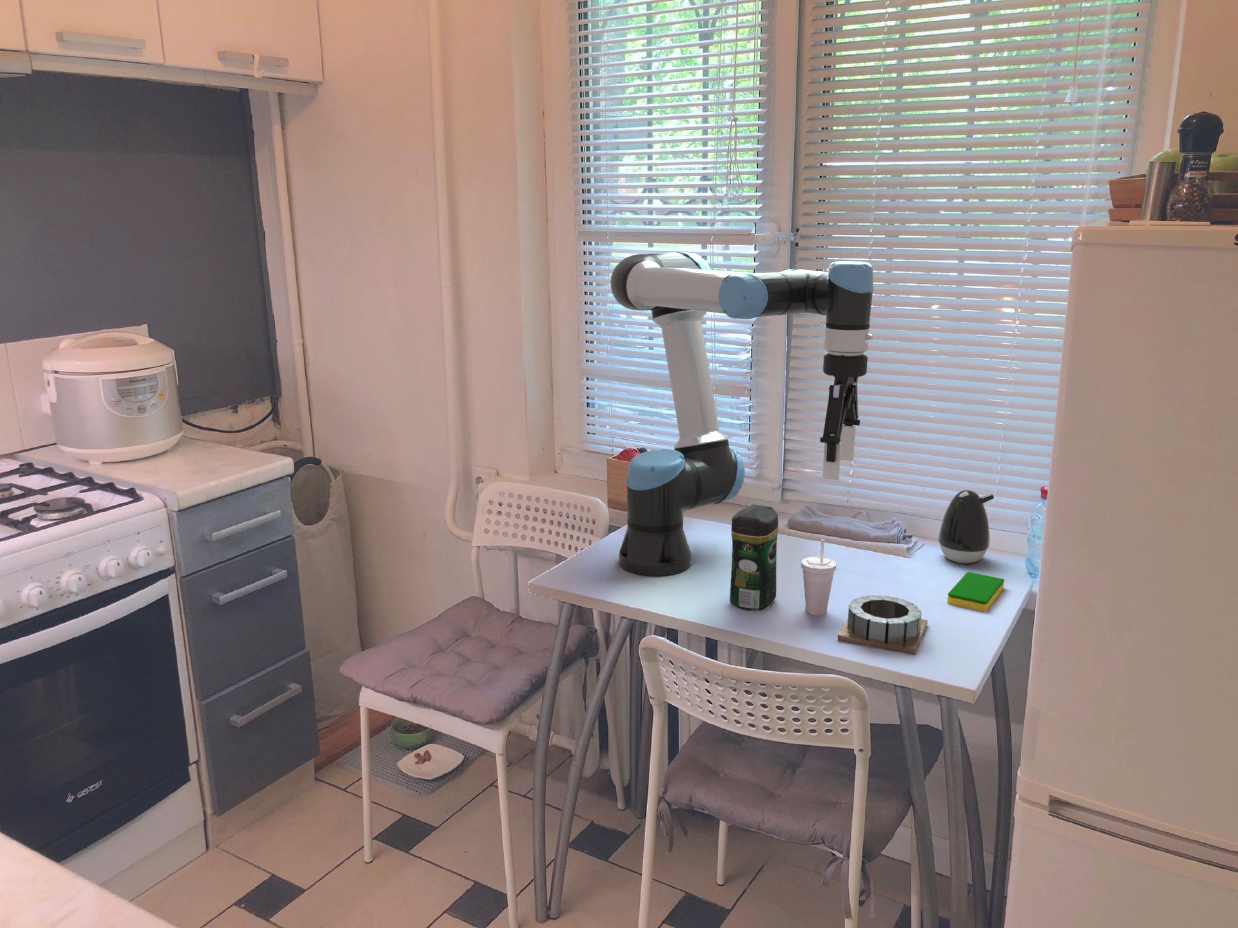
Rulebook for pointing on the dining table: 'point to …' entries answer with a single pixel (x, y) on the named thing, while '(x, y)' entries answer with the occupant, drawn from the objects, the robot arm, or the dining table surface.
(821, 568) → the smoothie
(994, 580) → the dish sponge
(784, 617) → the dining table surface
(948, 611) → the dining table surface
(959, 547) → the pump dispenser
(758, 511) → the coffee jar
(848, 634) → the stone fire pit ring
